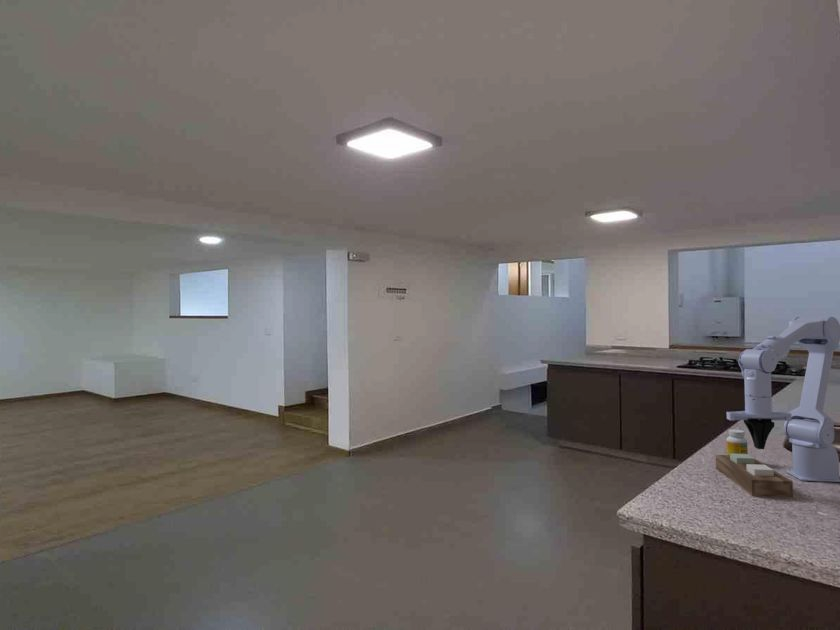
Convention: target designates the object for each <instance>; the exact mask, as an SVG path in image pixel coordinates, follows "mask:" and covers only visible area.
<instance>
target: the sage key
mask: <svg viewBox="0 0 840 630" xmlns="http://www.w3.org/2000/svg"><path fill="white" fill-rule="evenodd" d="M755 459H756V458H755V457H753V456H752V455H749V453H748V454H730V460H731V461H733V462H734V463H736V464H755Z"/></svg>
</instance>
